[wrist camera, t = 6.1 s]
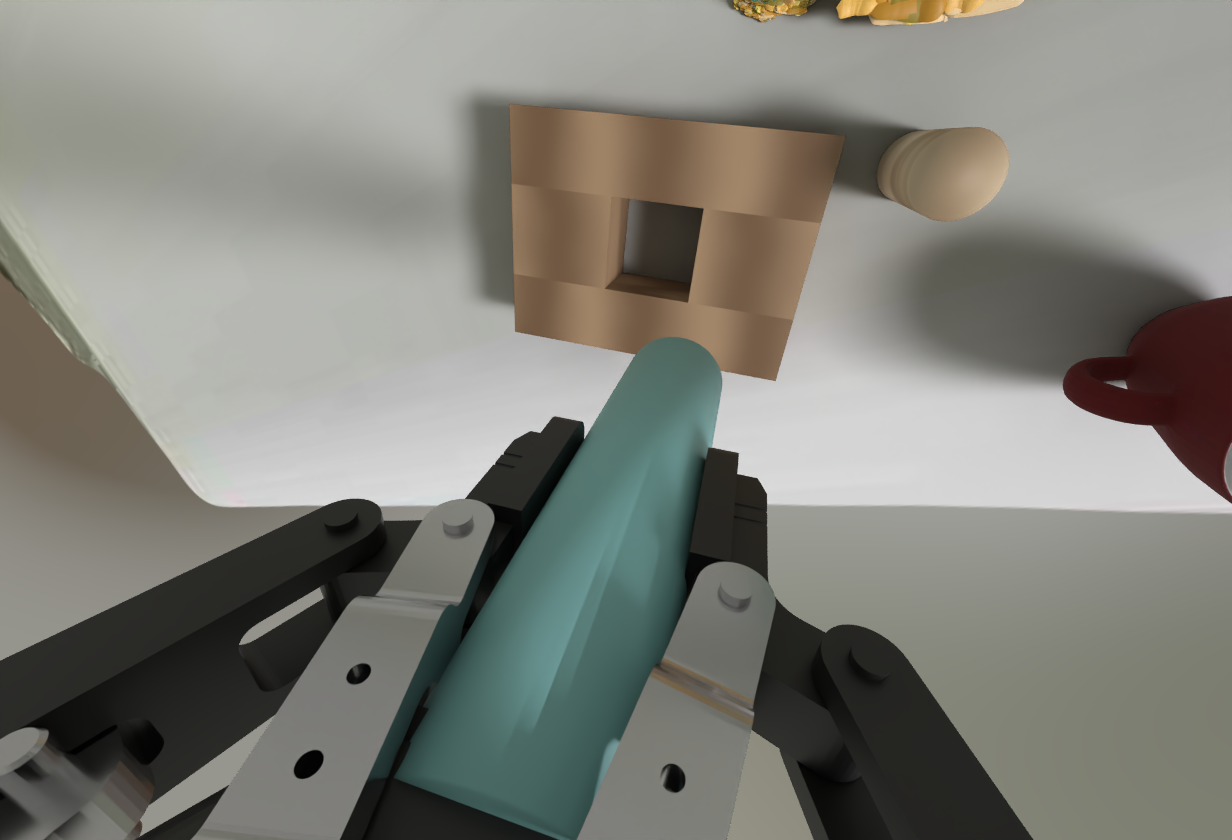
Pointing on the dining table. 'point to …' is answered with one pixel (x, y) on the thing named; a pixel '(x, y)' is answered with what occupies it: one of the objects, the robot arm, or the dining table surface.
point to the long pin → (578, 609)
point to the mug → (1172, 387)
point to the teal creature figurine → (881, 9)
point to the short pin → (944, 171)
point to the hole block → (673, 174)
